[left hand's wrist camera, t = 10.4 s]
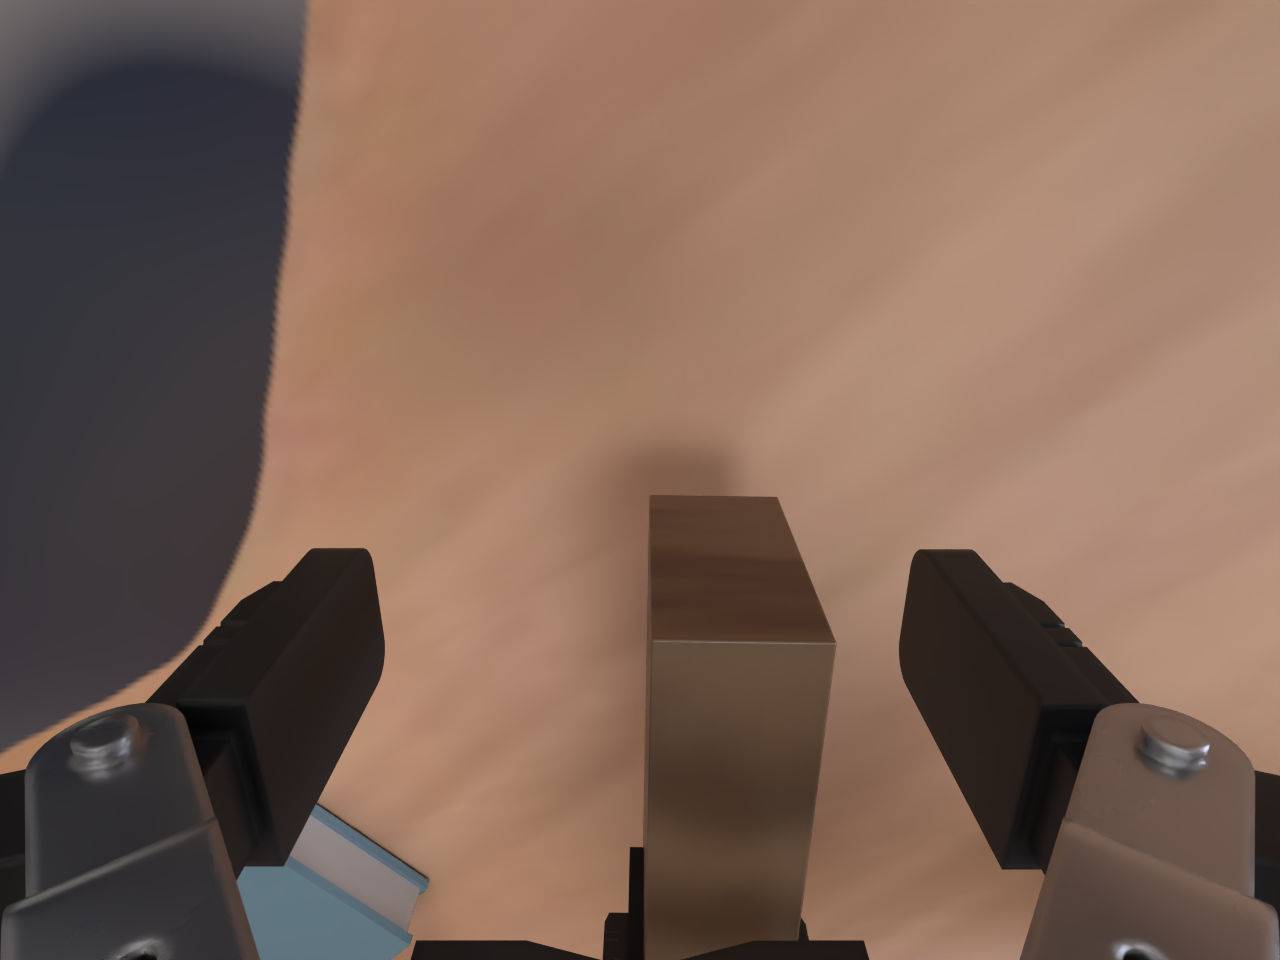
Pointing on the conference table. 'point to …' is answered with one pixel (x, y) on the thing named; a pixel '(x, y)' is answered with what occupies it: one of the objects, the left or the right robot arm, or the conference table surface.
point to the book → (331, 898)
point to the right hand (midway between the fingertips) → (699, 867)
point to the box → (729, 724)
